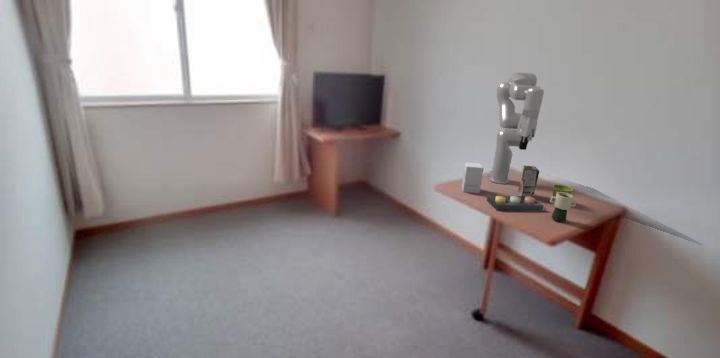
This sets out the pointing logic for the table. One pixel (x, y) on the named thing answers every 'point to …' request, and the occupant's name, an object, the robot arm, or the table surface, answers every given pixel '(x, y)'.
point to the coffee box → (528, 181)
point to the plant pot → (561, 189)
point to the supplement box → (472, 177)
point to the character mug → (562, 205)
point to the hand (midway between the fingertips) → (522, 149)
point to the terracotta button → (529, 199)
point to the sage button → (515, 199)
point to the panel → (515, 204)
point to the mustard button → (500, 199)
